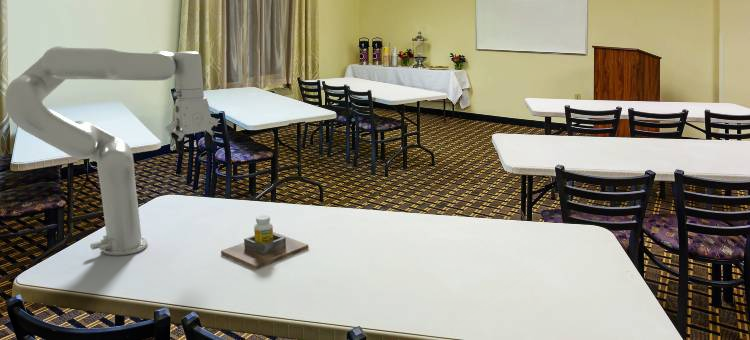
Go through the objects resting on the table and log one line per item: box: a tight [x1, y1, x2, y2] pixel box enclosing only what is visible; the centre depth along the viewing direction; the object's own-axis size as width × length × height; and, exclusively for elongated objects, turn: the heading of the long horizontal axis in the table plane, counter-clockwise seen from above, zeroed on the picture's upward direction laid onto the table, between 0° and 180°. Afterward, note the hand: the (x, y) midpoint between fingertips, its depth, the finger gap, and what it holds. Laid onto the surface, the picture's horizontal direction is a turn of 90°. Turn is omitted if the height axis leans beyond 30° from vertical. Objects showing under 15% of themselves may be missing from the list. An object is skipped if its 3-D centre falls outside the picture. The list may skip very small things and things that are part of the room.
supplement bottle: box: [253, 214, 274, 245], centre depth 175 cm, size 5×5×10 cm
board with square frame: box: [220, 231, 310, 270], centre depth 176 cm, size 20×16×4 cm
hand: (194, 150), depth 180 cm, fingers open, 9 cm apart
